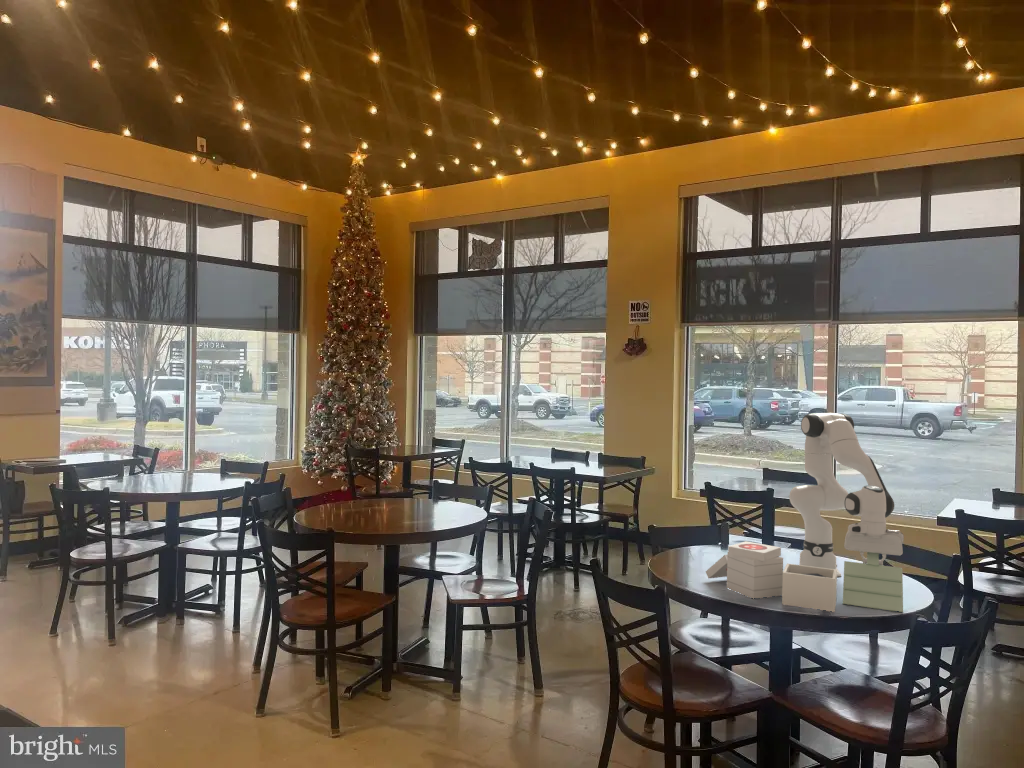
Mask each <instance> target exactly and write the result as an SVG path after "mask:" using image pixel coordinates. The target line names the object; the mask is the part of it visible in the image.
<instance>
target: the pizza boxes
mask: <svg viewBox="0 0 1024 768" xmlns="http://www.w3.org/2000/svg"><path fill="white" fill-rule="evenodd" d="M727 549H728V551H727V554H724V555H723V556H721V558H719V559H718V560H717V561H716V562H715V563H713V564H712V565H711V566H710V567H709V568H708V569H707V570H705V573H706V576H707V578H708V579H714V578H715V579H717V578H725V577H726V589H727V588H729V589H731V590H733V591H736V592H739V593H741V594H743V595H742V596H744V595H745V596H744V597H746V596H748V597H747V598H749V597H751V598H753V599H752V600H755V599H754V598H760V599H764V598H763V597H767V598H773V597H772V596H775V597H781V596H780V595H782V584H783V571H784V557H782V556H781V555H782V547H780V546H774V545H768V544H763V543H758V542H752V541H746V540H745V541H742V542H738V543H735V544H731V545H729V546H727ZM731 590H730V591H731ZM733 591H732V592H733ZM736 592H735V593H736ZM741 594H740V595H741ZM751 598H750V599H751Z"/></svg>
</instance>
